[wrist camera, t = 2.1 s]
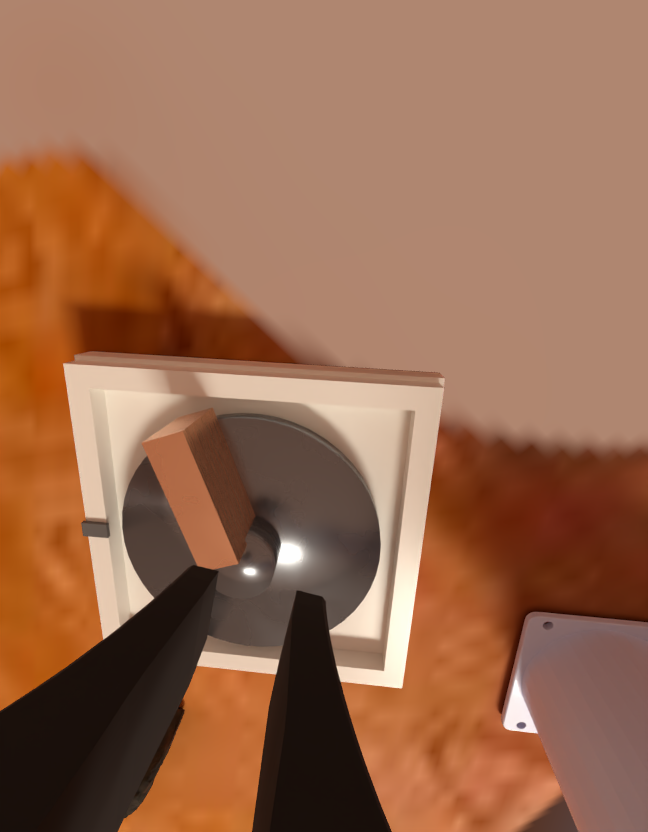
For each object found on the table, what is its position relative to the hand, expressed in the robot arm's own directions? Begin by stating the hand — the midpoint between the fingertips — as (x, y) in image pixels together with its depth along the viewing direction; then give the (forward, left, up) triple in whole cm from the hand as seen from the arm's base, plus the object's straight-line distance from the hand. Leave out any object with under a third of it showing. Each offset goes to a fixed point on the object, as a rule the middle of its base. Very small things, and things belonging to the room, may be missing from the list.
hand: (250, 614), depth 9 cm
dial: (+2, +4, -9) cm, 10 cm away
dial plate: (+2, +4, -10) cm, 11 cm away
